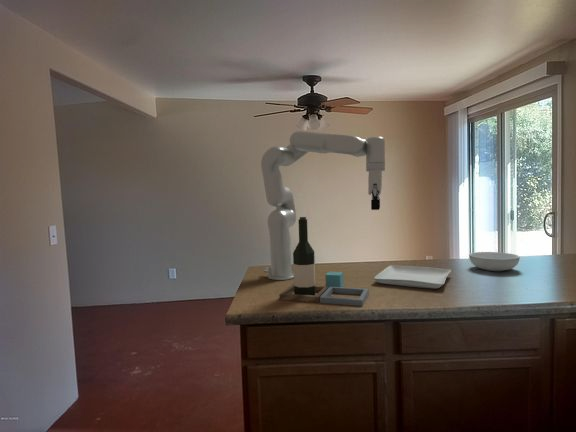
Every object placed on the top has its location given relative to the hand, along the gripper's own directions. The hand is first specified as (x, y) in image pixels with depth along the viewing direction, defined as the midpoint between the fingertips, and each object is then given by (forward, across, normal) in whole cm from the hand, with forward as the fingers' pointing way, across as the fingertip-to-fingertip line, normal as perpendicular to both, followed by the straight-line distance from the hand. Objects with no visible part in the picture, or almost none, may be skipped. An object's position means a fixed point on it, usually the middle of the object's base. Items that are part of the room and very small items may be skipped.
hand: (375, 209), depth 154 cm
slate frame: (+31, +24, -10) cm, 41 cm away
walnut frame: (+32, +22, -26) cm, 46 cm away
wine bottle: (+32, +22, -26) cm, 47 cm away
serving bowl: (+31, -34, +53) cm, 70 cm away
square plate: (+32, -7, +15) cm, 36 cm away
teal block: (+32, +10, -16) cm, 37 cm away
